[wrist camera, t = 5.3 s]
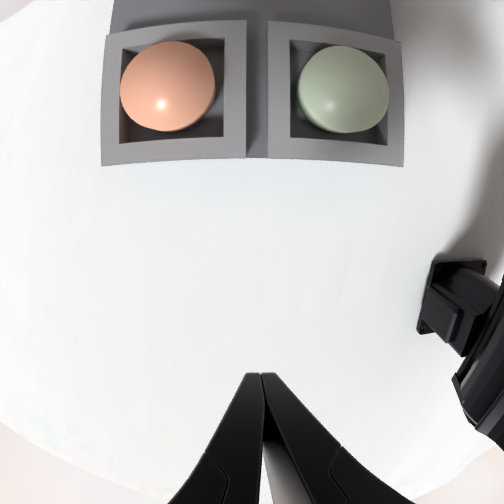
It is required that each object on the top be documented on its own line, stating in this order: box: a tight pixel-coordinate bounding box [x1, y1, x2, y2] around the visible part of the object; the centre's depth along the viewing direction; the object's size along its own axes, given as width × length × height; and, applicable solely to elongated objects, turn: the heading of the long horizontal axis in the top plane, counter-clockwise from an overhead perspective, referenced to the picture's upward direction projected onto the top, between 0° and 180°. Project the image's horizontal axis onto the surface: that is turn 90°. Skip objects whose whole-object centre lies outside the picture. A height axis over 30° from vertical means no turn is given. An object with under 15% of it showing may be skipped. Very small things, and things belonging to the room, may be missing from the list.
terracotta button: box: [120, 41, 216, 132], centre depth 12 cm, size 4×4×2 cm
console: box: [101, 0, 404, 167], centre depth 13 cm, size 16×19×4 cm
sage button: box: [295, 46, 389, 134], centre depth 12 cm, size 4×4×2 cm
